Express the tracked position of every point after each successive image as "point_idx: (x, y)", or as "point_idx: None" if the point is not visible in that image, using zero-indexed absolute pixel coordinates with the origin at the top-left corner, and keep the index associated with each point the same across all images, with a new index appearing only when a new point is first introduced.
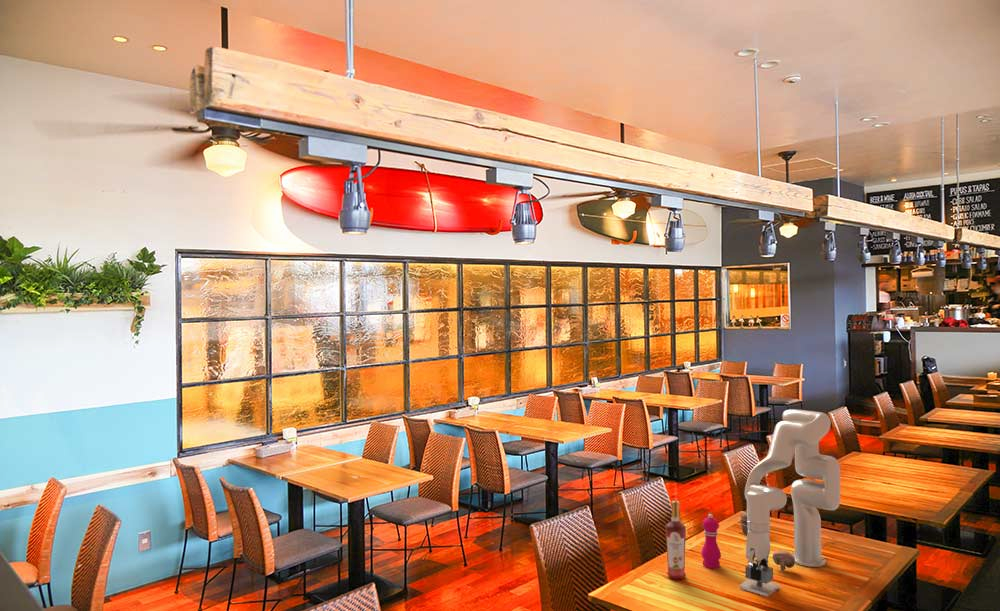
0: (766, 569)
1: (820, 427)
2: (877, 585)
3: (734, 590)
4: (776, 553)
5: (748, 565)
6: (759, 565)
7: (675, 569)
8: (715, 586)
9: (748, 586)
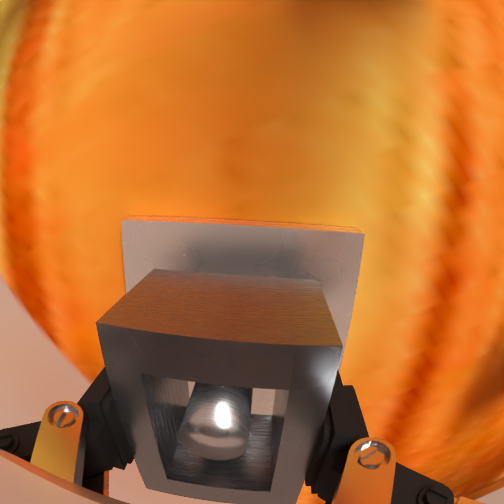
0: (212, 489)
1: None
2: None
3: (87, 202)
4: None
5: (161, 347)
6: (279, 438)
7: None
8: (69, 83)
9: None
